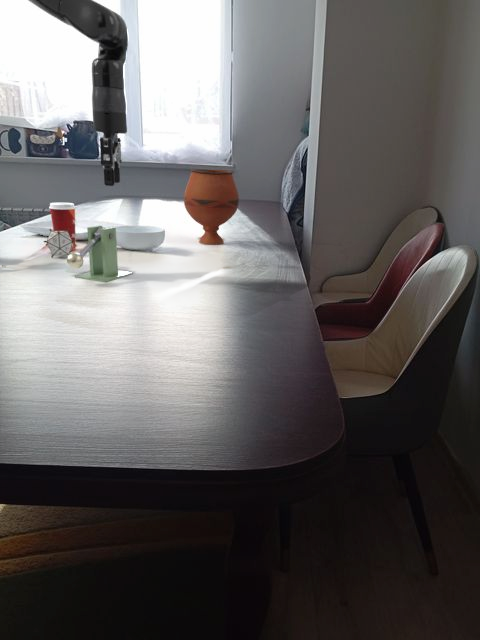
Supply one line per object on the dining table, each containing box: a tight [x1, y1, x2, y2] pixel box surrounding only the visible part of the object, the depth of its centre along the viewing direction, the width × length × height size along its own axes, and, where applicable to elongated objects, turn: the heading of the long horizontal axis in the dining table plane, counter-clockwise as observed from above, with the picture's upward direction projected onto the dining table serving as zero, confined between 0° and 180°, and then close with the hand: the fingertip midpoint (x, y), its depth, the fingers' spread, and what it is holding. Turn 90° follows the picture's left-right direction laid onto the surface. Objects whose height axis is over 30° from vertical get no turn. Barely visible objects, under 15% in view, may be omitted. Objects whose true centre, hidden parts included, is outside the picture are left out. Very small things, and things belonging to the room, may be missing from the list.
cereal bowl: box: [115, 225, 166, 253], centre depth 164 cm, size 17×17×7 cm
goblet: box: [183, 168, 240, 246], centre depth 182 cm, size 19×19×25 cm
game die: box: [43, 228, 77, 258], centre depth 149 cm, size 9×8×10 cm
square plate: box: [19, 218, 131, 241], centre depth 186 cm, size 27×27×4 cm
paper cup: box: [48, 201, 77, 252], centre depth 158 cm, size 8×8×14 cm
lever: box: [66, 227, 104, 270], centre depth 121 cm, size 14×4×4 cm, turn 158°
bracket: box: [74, 225, 133, 283], centre depth 126 cm, size 11×9×13 cm
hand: (112, 184), depth 124 cm, fingers open, 8 cm apart
